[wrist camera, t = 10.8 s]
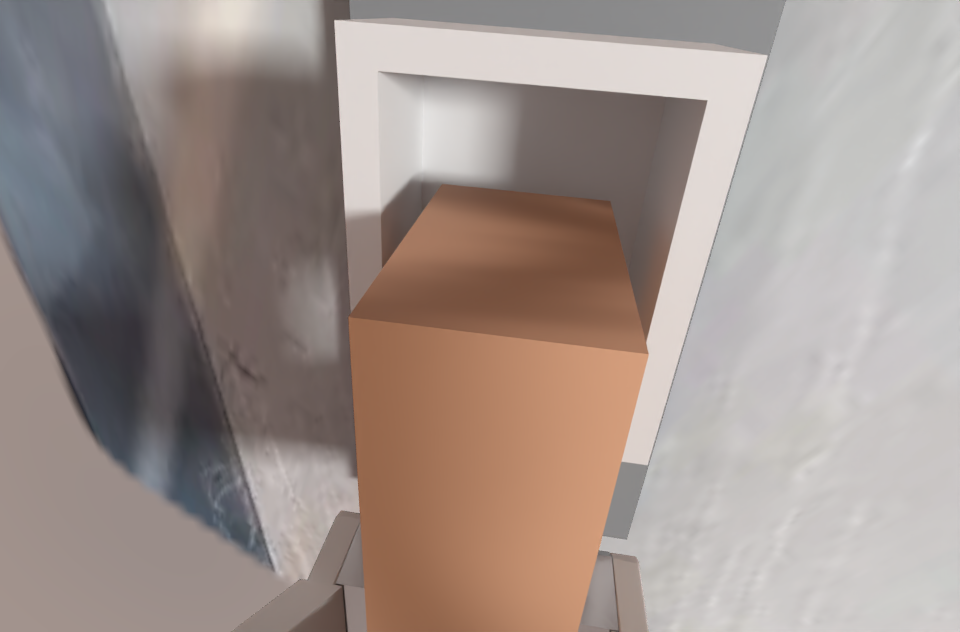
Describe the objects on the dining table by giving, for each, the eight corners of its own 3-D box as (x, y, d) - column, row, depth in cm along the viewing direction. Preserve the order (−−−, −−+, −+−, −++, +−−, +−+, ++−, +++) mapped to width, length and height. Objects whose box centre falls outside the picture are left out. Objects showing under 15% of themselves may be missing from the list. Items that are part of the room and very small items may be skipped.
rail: (610, 200, 10) (648, 354, 5) (526, 655, 17) (513, 884, 12) (442, 183, 10) (347, 316, 6) (427, 638, 17) (380, 856, 12)
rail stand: (775, -25, 16) (1104, -82, 6) (623, 513, 26) (657, 797, 17) (363, -53, 17) (93, -140, 7) (379, 476, 27) (281, 724, 18)
